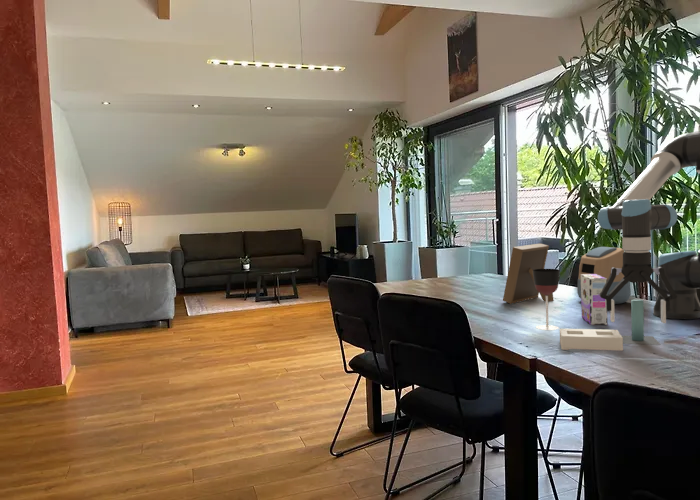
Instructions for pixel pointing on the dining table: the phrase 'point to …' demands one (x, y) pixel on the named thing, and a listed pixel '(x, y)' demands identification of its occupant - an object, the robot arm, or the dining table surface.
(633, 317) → the peg
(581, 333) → the hole block
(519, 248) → the photo frame
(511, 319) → the dining table surface
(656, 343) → the mat
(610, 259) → the tan and grey appliance
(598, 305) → the candy box
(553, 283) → the wineglass
